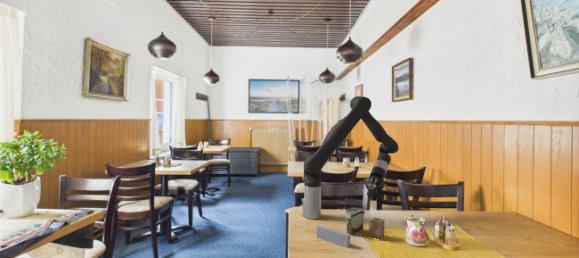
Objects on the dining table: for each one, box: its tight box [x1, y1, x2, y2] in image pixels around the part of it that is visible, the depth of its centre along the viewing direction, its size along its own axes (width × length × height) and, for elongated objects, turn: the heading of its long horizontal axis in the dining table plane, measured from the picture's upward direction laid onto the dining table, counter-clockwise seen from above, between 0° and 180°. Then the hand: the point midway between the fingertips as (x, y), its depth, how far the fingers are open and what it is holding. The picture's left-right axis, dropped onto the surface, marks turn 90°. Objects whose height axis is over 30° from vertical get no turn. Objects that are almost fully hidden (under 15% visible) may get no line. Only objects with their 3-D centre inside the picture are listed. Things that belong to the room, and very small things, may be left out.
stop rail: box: [316, 224, 351, 248], centre depth 130 cm, size 16×2×5 cm, turn 48°
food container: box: [344, 207, 366, 236], centre depth 142 cm, size 12×6×10 cm, turn 135°
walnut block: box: [368, 217, 385, 241], centre depth 135 cm, size 5×5×8 cm
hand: (369, 196), depth 154 cm, fingers closed
